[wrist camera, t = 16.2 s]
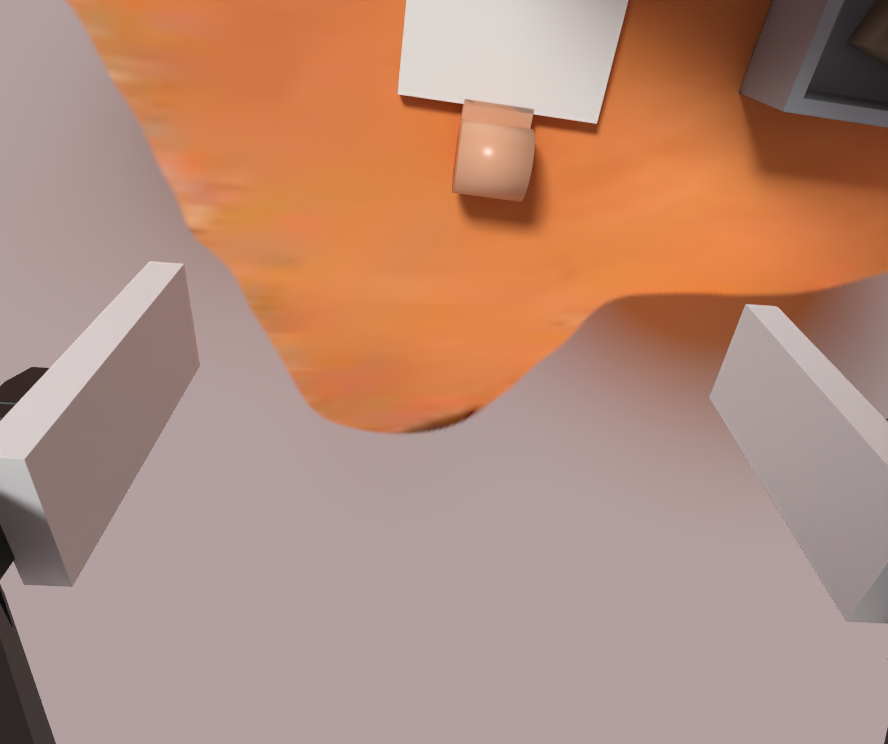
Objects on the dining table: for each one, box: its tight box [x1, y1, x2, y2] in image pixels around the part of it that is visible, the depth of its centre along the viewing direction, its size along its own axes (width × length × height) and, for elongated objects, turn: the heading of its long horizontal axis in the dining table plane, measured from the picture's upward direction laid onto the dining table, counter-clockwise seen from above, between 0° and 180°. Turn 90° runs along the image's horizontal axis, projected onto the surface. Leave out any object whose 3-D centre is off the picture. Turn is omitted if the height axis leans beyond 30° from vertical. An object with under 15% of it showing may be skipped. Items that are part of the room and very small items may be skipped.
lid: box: [398, 0, 628, 202], centre depth 35 cm, size 22×13×4 cm, turn 172°
